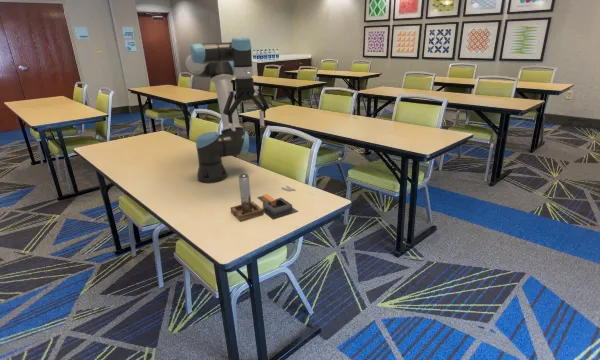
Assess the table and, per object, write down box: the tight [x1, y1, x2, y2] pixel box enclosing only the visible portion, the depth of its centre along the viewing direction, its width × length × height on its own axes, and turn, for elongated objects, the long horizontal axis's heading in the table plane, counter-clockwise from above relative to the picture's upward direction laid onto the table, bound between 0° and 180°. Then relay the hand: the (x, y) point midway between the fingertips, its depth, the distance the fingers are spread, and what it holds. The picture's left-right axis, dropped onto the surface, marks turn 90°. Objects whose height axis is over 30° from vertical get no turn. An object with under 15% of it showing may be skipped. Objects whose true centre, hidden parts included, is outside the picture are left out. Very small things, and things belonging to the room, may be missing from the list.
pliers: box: [281, 185, 312, 195], centre depth 164 cm, size 10×2×15 cm
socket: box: [256, 195, 299, 221], centre depth 152 cm, size 23×12×3 cm, turn 32°
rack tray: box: [230, 200, 265, 222], centre depth 145 cm, size 10×10×3 cm
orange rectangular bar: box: [261, 193, 276, 206], centre depth 154 cm, size 8×2×2 cm, turn 32°
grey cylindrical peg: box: [238, 173, 252, 214], centre depth 142 cm, size 4×4×17 cm
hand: (248, 128), depth 155 cm, fingers open, 13 cm apart
